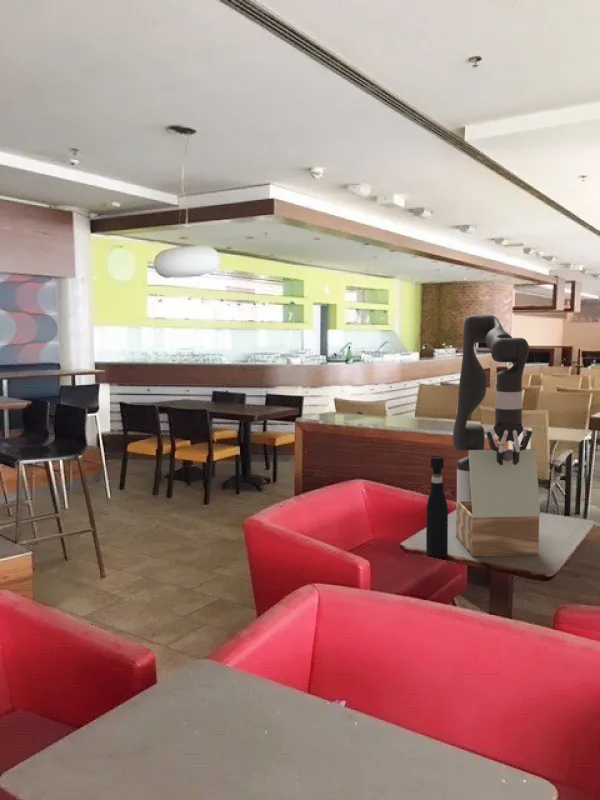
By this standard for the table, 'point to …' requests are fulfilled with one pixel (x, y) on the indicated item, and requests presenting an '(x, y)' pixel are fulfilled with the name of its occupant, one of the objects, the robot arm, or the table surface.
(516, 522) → the crate
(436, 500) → the wine bottle
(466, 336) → the robot arm
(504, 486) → the lid
